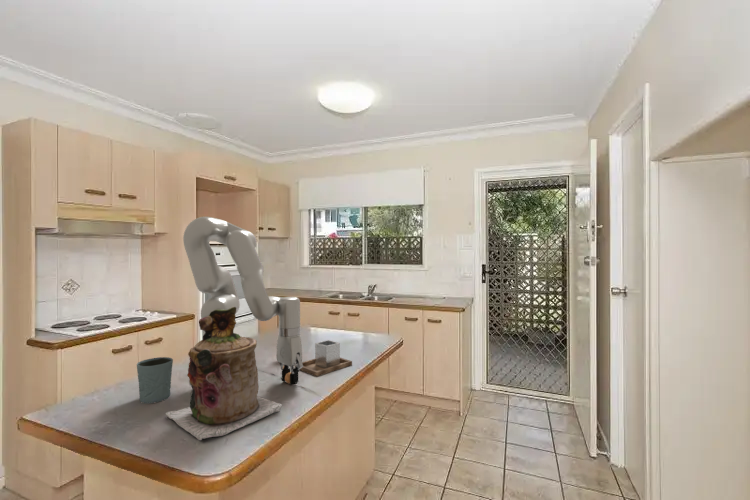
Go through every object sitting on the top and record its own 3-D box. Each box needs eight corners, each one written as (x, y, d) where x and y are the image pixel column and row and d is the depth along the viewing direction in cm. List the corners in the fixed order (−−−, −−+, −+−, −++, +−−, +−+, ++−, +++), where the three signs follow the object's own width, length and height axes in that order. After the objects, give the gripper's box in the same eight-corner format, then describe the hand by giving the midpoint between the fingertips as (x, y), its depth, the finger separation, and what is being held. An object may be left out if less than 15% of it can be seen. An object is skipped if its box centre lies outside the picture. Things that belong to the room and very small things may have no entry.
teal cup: (132, 406, 114) (131, 367, 114) (143, 393, 124) (142, 358, 124) (168, 402, 117) (168, 364, 117) (176, 390, 127) (176, 355, 127)
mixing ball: (288, 385, 130) (288, 375, 130) (282, 383, 133) (282, 372, 133) (297, 382, 133) (297, 372, 133) (291, 380, 136) (291, 370, 136)
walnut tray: (316, 379, 137) (316, 372, 137) (294, 370, 146) (294, 364, 146) (352, 367, 150) (352, 361, 150) (329, 360, 159) (329, 354, 159)
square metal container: (326, 369, 145) (326, 346, 145) (315, 365, 149) (315, 343, 149) (339, 365, 150) (339, 342, 150) (328, 361, 154) (328, 340, 154)
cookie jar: (240, 391, 126) (239, 297, 125) (285, 411, 110) (284, 304, 110) (162, 417, 107) (161, 307, 106) (202, 446, 91) (201, 317, 91)
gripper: (267, 329, 136) (268, 379, 136) (294, 337, 124) (295, 391, 124) (285, 326, 141) (285, 374, 141) (312, 333, 130) (312, 385, 130)
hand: (290, 381), depth 133 cm, fingers open, 4 cm apart
